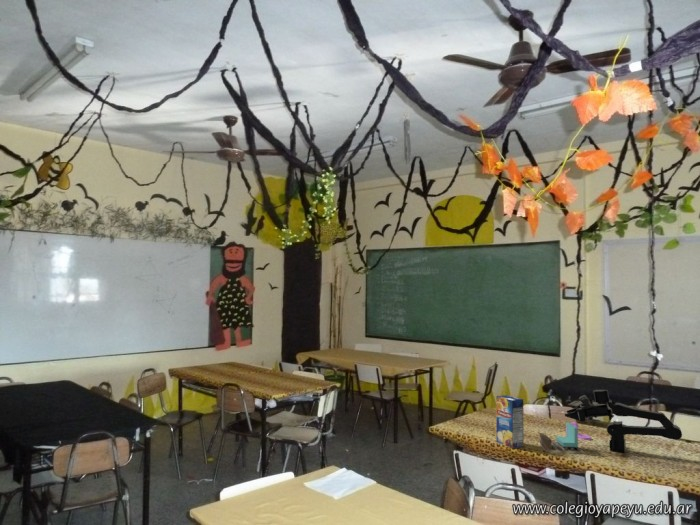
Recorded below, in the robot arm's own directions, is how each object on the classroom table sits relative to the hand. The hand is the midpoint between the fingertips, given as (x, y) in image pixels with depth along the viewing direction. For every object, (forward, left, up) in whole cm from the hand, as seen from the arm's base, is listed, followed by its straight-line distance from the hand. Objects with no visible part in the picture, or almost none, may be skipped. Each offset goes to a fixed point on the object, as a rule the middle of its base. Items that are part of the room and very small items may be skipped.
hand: (565, 413), depth 270 cm
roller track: (-1, +12, -15) cm, 20 cm away
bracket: (-2, -18, -16) cm, 24 cm away
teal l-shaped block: (-3, +11, -13) cm, 17 cm away
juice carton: (+22, +22, -16) cm, 35 cm away
